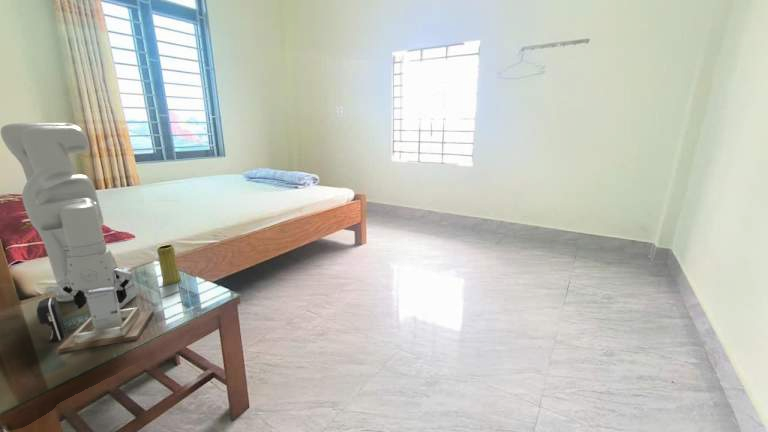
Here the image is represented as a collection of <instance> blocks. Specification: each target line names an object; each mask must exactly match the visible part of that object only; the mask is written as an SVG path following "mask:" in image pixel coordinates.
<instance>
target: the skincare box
mask: <svg viewBox="0 0 768 432" xmlns="http://www.w3.org/2000/svg"><path fill="white" fill-rule="evenodd" d="M86 302H87V304H88V309H89V313H90V317H91V318H92V322H93V326H94V330H95V331H97V330H103V329H109V328H115V327H121V325H122V317H121V313H120V310H121V308H119V304H118V299H117V294H116V290H115V288H114V287H113V286H111V287H106V288H99V289H94V290H89V292H88V294H87V297H86Z"/></svg>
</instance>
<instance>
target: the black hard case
mask: <svg viewBox="0 0 768 432" xmlns="http://www.w3.org/2000/svg"><path fill="white" fill-rule="evenodd" d="M58 303H59V302H58V301H57V300H56V298H55V297H50V298H46V299H45V298H44V299H42V300H40V301H39V302H38V304H37V307H36V314H37V319H38V322H39V324H40V325H42V326H43V325H46V326H49V327H50V328H51V332H50V333H49V338H48V340H49V342H50V343H54V342H57V341H61V340H63V339H65V334H66V325H65V322H64V319H63V316H62V312H61V309H60V307H59V304H58Z"/></svg>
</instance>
